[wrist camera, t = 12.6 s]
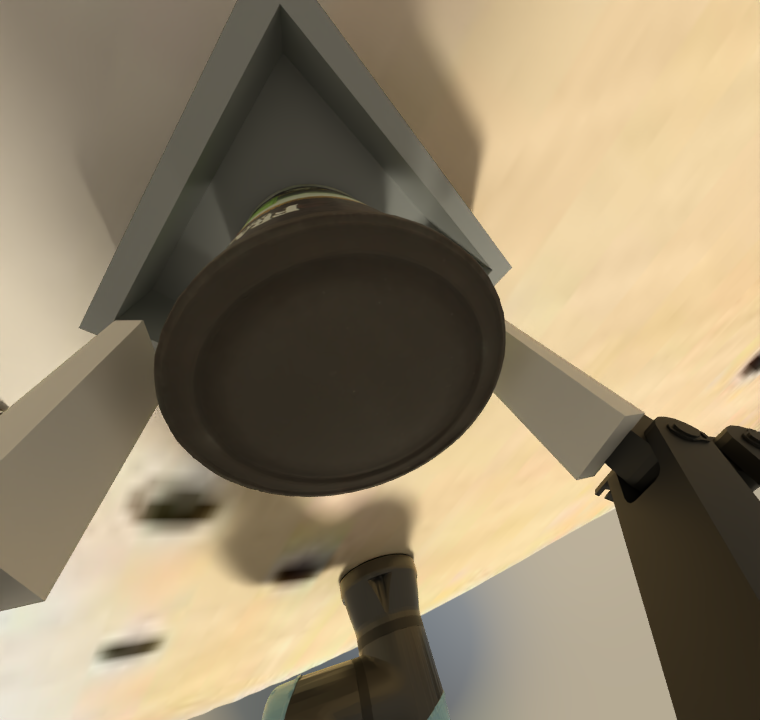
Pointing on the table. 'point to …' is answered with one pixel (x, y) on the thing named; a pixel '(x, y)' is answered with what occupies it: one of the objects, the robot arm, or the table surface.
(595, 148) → the table surface
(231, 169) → the grey bin
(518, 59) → the table surface
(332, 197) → the coffee can
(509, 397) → the robot arm
